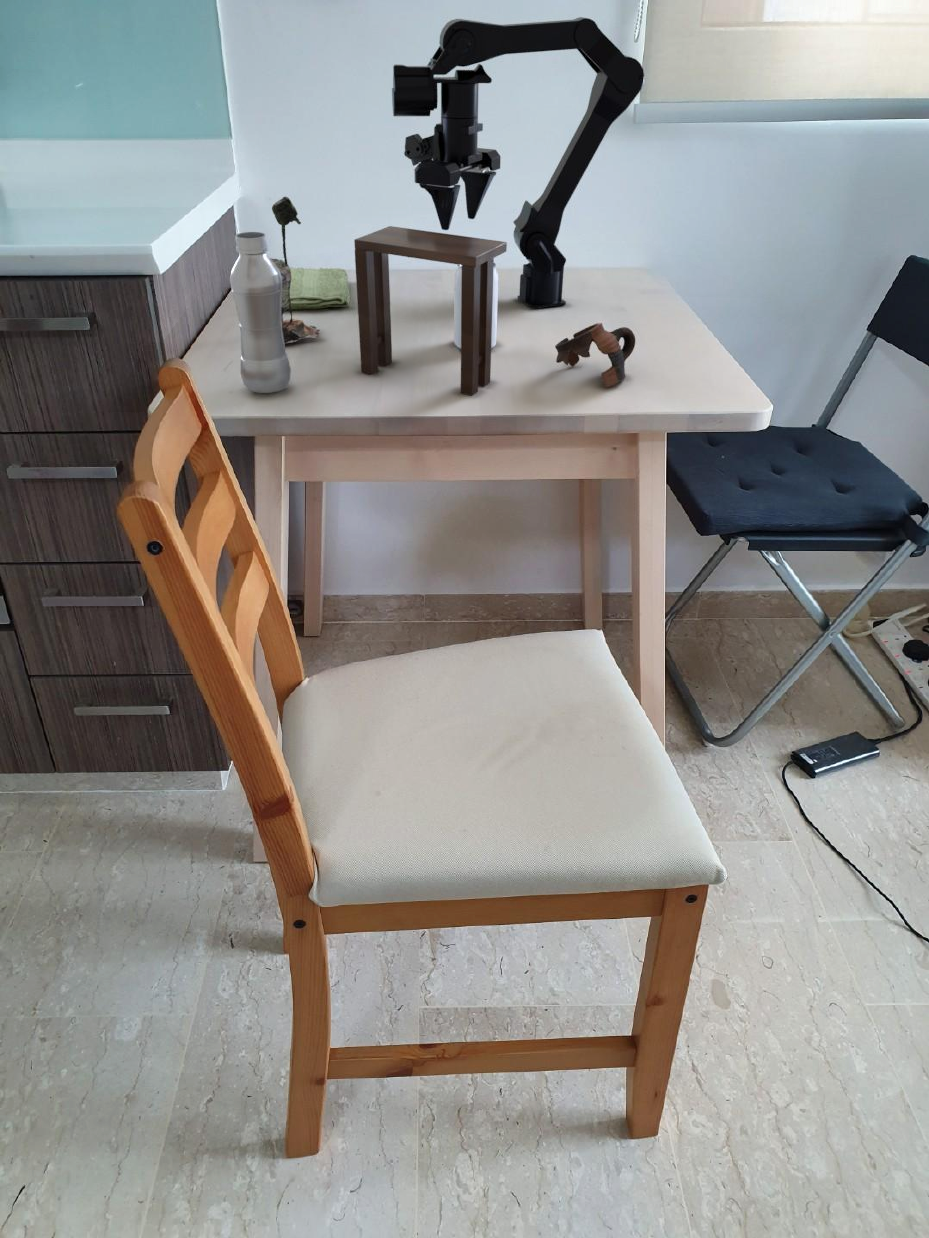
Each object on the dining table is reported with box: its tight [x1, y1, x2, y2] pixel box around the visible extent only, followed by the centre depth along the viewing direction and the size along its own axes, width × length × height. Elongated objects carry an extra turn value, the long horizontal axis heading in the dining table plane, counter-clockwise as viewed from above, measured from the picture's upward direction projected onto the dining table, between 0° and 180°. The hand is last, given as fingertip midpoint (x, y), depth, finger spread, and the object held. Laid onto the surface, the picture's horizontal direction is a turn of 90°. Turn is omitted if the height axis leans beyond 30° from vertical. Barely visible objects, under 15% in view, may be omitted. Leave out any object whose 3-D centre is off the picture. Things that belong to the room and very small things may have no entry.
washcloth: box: [287, 266, 351, 311], centre depth 161 cm, size 13×18×3 cm
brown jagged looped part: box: [554, 322, 636, 389], centre depth 131 cm, size 12×10×8 cm
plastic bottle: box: [229, 231, 292, 394], centre depth 120 cm, size 6×7×20 cm
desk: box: [354, 225, 508, 397], centre depth 127 cm, size 9×18×18 cm, turn 62°
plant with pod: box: [269, 196, 320, 344], centre depth 137 cm, size 8×11×20 cm
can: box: [453, 262, 499, 350], centre depth 138 cm, size 6×6×12 cm
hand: (458, 224), depth 151 cm, fingers open, 9 cm apart
